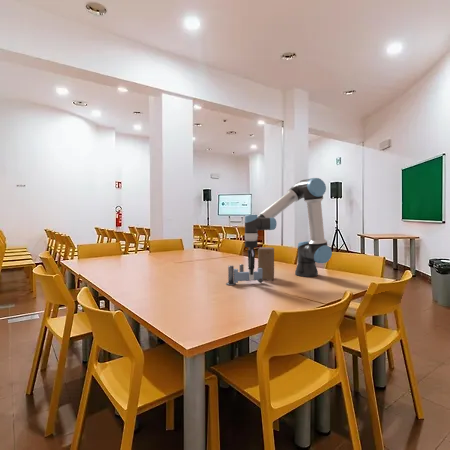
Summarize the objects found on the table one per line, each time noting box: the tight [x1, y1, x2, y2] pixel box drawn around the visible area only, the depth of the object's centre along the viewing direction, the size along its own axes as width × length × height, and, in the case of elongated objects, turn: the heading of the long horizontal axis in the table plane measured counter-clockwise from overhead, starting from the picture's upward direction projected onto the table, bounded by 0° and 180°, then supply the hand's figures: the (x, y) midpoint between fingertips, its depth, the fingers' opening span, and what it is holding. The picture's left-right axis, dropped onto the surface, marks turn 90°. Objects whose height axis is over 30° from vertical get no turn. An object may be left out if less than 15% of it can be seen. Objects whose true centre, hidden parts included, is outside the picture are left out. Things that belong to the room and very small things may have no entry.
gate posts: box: [225, 263, 245, 286], centre depth 194 cm, size 6×23×11 cm, turn 157°
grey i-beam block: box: [234, 267, 264, 284], centre depth 187 cm, size 17×3×8 cm, turn 100°
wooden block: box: [257, 246, 275, 281], centre depth 201 cm, size 10×10×20 cm
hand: (251, 279), depth 185 cm, fingers closed
